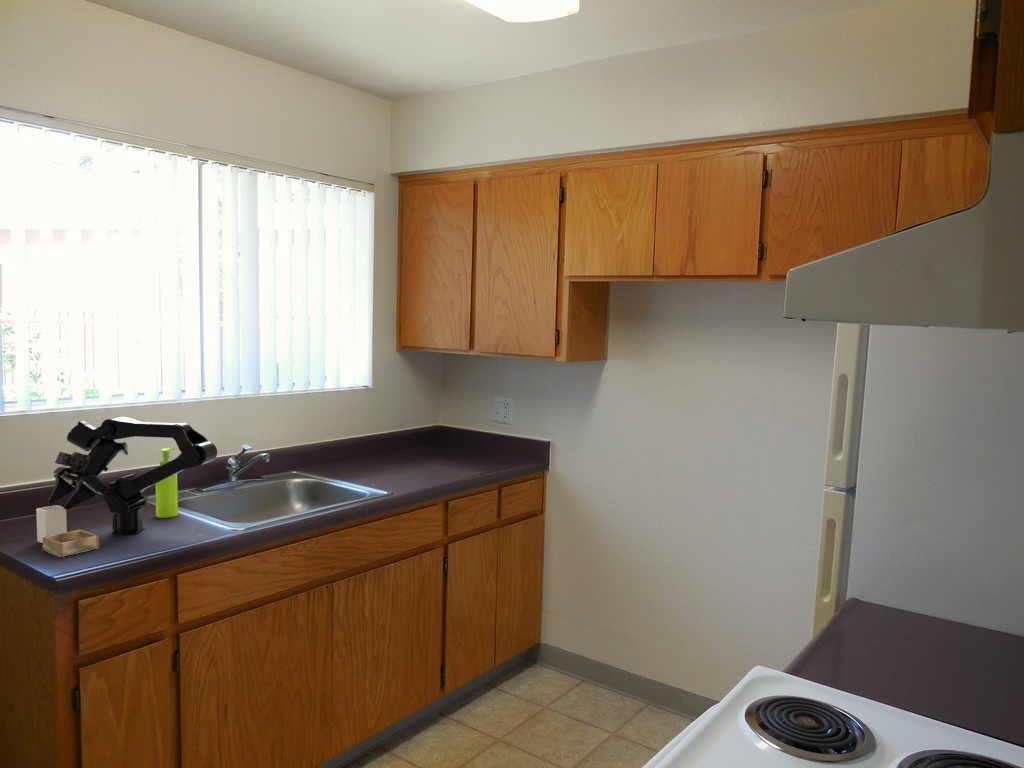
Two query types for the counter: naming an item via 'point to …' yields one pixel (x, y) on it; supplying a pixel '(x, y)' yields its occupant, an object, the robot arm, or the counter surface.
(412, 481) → the counter surface
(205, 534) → the counter surface
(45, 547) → the pine crate
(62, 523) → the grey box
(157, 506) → the soap dispenser
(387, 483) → the counter surface
